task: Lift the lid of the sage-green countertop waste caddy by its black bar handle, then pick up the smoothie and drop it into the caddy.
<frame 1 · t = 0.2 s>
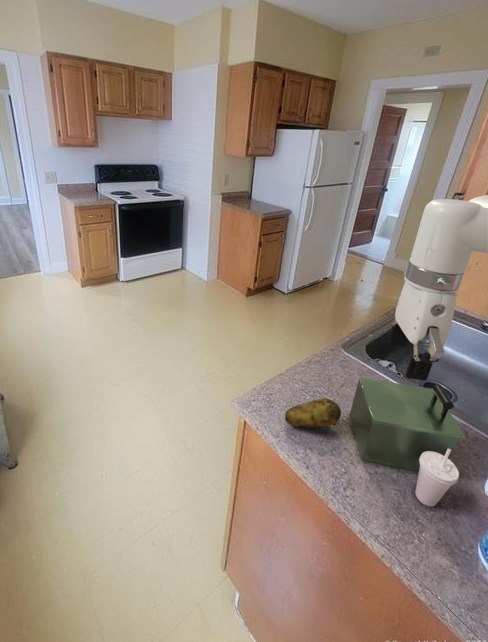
hand: (405, 360, 60), 31 cm above the worktop, tool pointing down, fingers open, 9 cm apart
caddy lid: (408, 397, 73), point 15 cm above the worktop, hinge at 0.0°
smoothie: (425, 497, 67), on the worktop
potato: (310, 424, 83), on the worktop
caddy: (391, 442, 79), on the worktop
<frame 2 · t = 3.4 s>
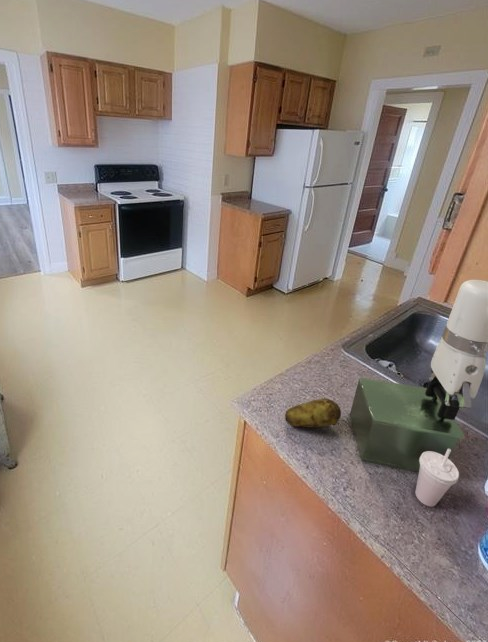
hand: (438, 406, 72), 14 cm above the worktop, tool pointing down, fingers closed on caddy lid, 5 cm apart
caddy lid: (408, 397, 73), point 15 cm above the worktop, hinge at 0.0°, touching gripper
everything else where it was.
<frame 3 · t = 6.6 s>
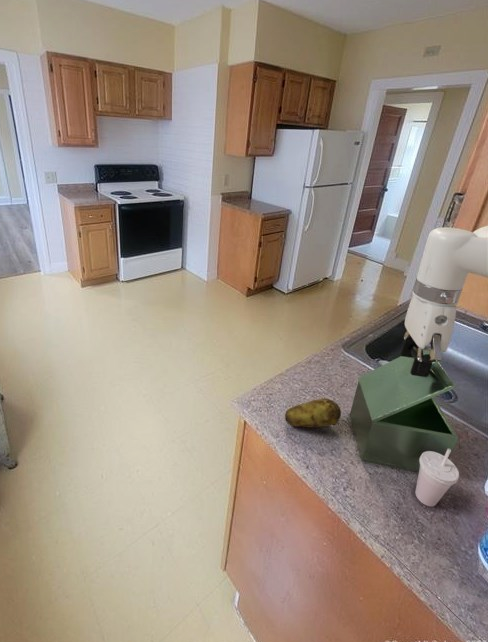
hand: (413, 364, 70), 23 cm above the worktop, tool pointing down, fingers closed on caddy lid, 5 cm apart
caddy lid: (394, 374, 72), point 20 cm above the worktop, hinge at 45.5°, touching gripper
everything else where it was.
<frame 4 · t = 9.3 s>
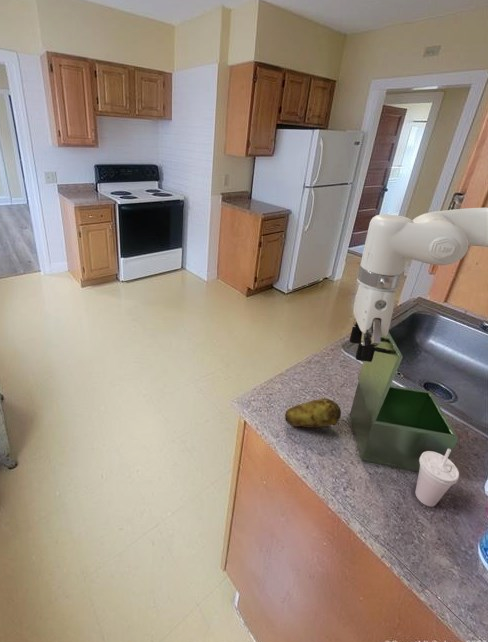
hand: (360, 350, 71), 25 cm above the worktop, tool pointing down, fingers closed on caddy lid, 5 cm apart
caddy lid: (366, 366, 72), point 21 cm above the worktop, hinge at 85.6°, touching gripper
everything else where it was.
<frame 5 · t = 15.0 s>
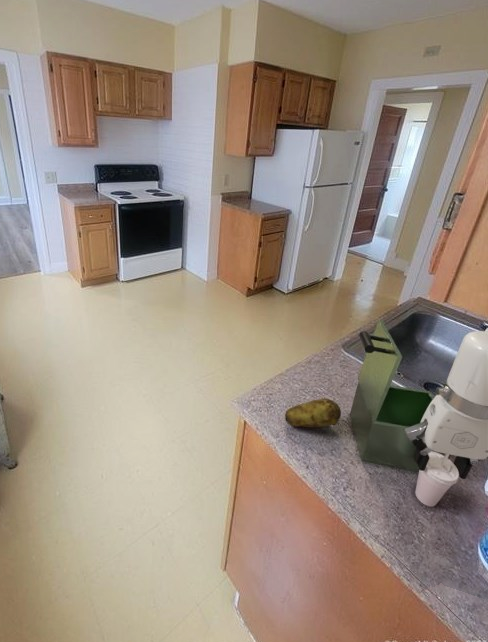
hand: (438, 467, 63), 9 cm above the worktop, tool pointing down, fingers closed on smoothie, 6 cm apart
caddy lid: (366, 366, 72), point 21 cm above the worktop, hinge at 85.8°
smoothie: (425, 497, 67), on the worktop, touching gripper
everything else where it was.
when the fingers open (10 cm above the worktop, at t = 22.5 s): smoothie stays where it is, resting on caddy.
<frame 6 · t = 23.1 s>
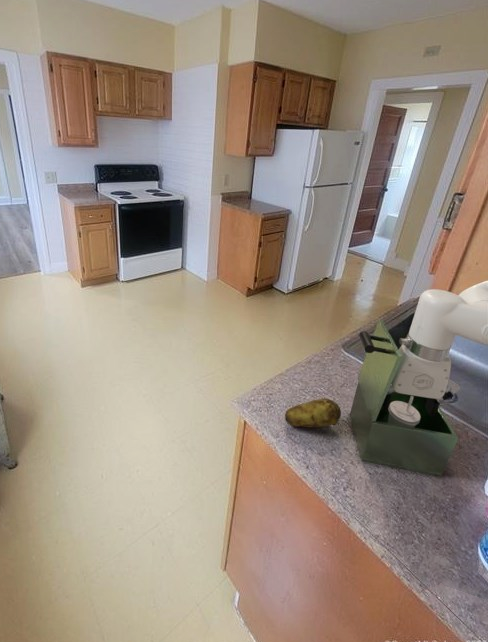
hand: (405, 408, 74), 11 cm above the worktop, tool pointing down, fingers open, 9 cm apart
smoothie: (394, 441, 78), point 1 cm above the worktop, touching caddy
everything else where it was.
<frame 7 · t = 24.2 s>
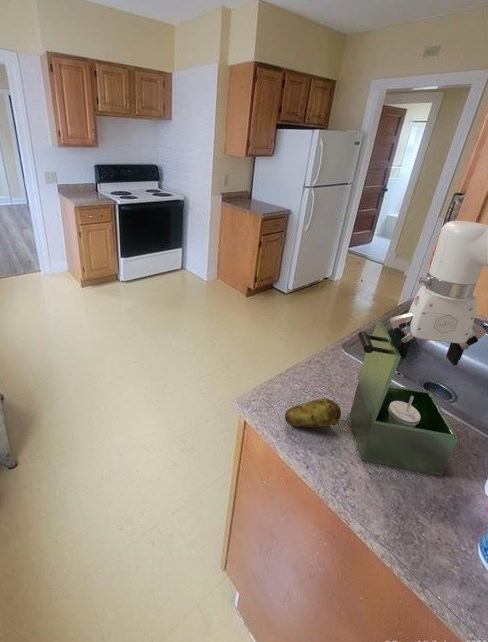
hand: (425, 357, 69), 26 cm above the worktop, tool pointing down, fingers open, 9 cm apart
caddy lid: (365, 366, 73), point 21 cm above the worktop, hinge at 86.6°
everything else where it was.
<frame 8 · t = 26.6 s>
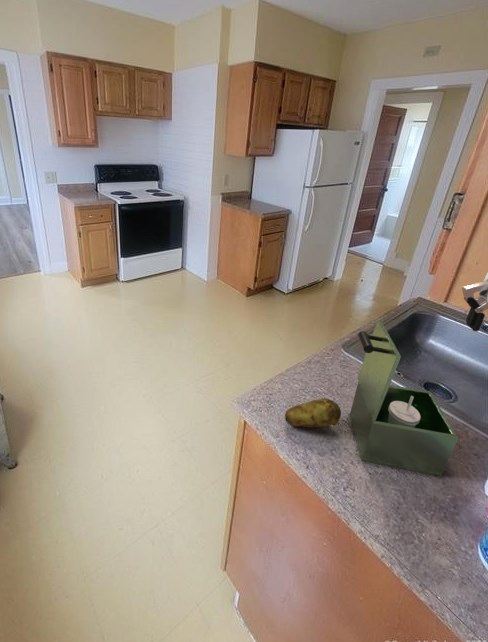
nothing on the worktop moved.
at the end: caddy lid at +87° (first picture: +0°); smoothie inside the target area in the caddy (0.6 cm from its centre), point 0.6 cm above the caddy's base; smoothie tilted 0° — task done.
